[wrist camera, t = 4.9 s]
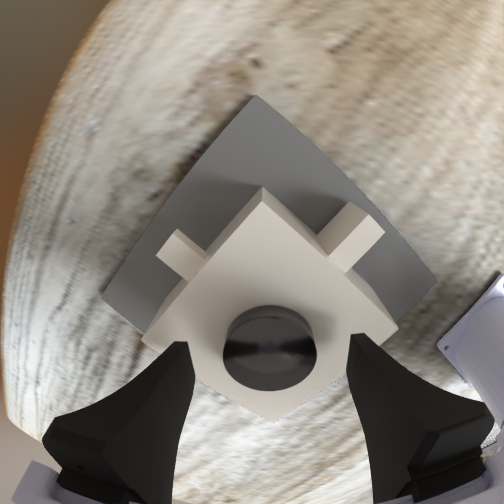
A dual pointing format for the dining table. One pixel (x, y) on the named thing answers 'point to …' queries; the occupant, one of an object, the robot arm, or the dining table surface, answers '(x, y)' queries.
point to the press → (267, 257)
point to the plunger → (269, 348)
